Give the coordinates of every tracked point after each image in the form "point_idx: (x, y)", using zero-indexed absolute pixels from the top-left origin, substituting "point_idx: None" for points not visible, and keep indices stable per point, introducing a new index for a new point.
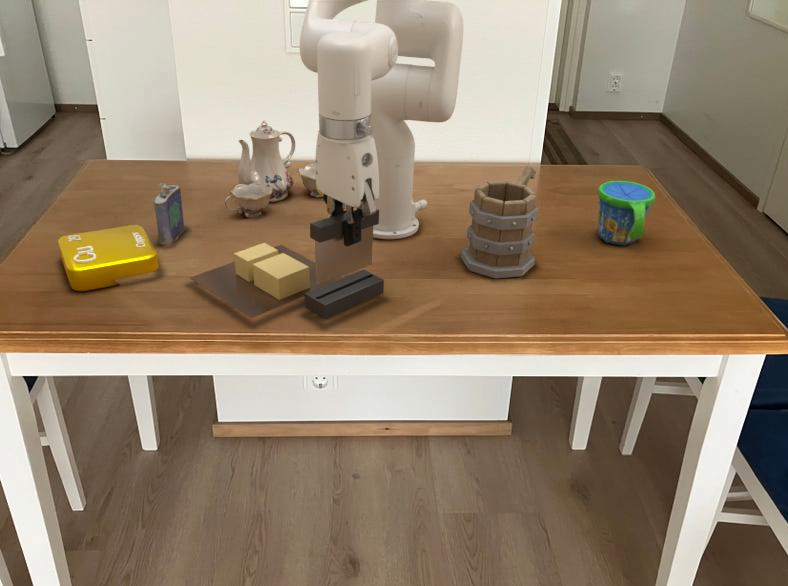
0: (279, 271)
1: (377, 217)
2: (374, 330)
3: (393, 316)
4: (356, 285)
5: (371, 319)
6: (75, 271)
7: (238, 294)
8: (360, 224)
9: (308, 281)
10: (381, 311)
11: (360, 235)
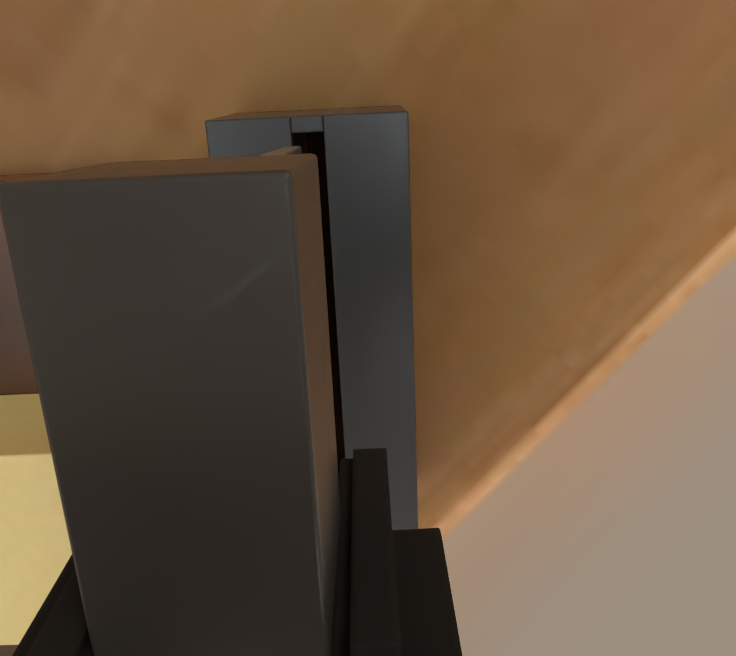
0: (31, 598)
1: (311, 202)
2: (584, 338)
3: (560, 179)
4: (357, 303)
5: (503, 286)
6: None
7: (5, 646)
8: (459, 651)
9: None
10: (480, 194)
11: (440, 540)
